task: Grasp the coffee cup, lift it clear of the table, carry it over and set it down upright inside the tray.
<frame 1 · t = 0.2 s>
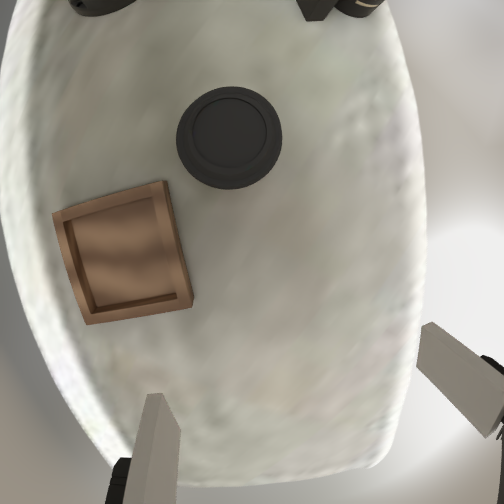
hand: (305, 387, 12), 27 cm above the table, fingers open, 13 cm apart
coffee cup: (225, 152, 35), on the table
tray: (124, 253, 36), on the table
light fixture: (334, 0, 31), on the table
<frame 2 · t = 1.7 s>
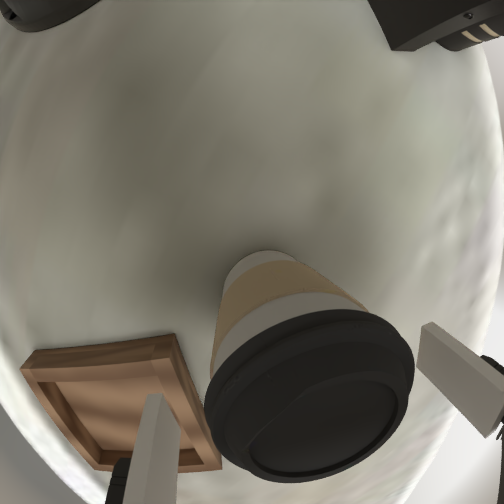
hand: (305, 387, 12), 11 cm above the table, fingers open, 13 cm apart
coffee cup: (265, 291, 23), on the table
tray: (127, 407, 24), on the table
light fixture: (421, 17, 18), on the table
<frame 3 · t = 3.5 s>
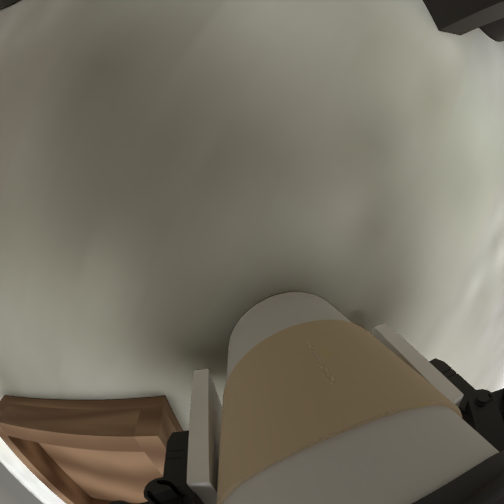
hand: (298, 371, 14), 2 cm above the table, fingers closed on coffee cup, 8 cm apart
coffee cup: (286, 345, 16), on the table, touching gripper
tray: (114, 464, 17), on the table
light fixture: (461, 0, 11), on the table
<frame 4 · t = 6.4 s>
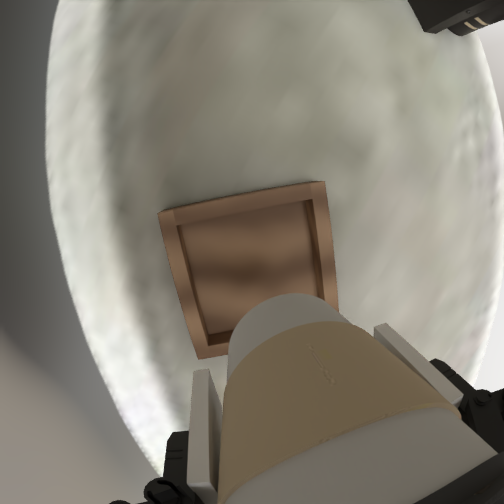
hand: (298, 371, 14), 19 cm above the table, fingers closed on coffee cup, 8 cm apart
coffee cup: (286, 346, 16), point 16 cm above the table, touching gripper
tray: (253, 267, 31), on the table
light fixture: (438, 14, 25), on the table
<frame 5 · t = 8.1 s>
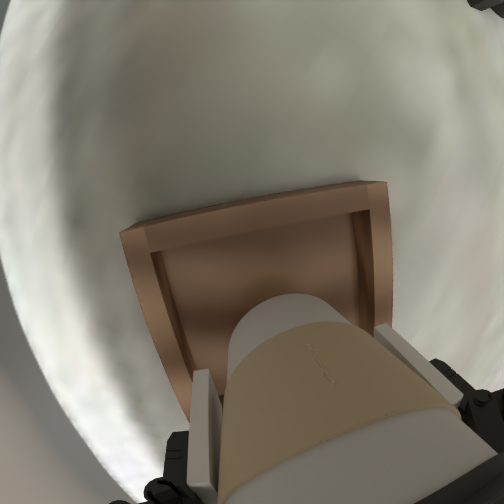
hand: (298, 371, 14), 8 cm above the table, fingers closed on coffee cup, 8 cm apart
coffee cup: (286, 346, 16), point 5 cm above the table, touching gripper
tray: (272, 308, 21), on the table
when the fingers open (5 cm above the table, at t = 9.6 s): coffee cup drops 1 cm, resting on tray.
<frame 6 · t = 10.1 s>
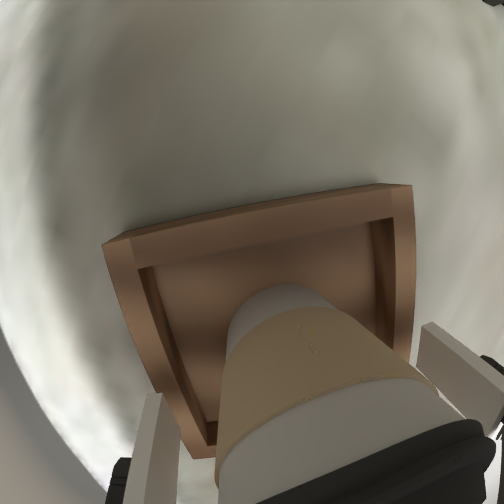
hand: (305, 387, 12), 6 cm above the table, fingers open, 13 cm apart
coffee cup: (281, 334, 17), point 1 cm above the table, touching tray
tray: (279, 327, 18), on the table
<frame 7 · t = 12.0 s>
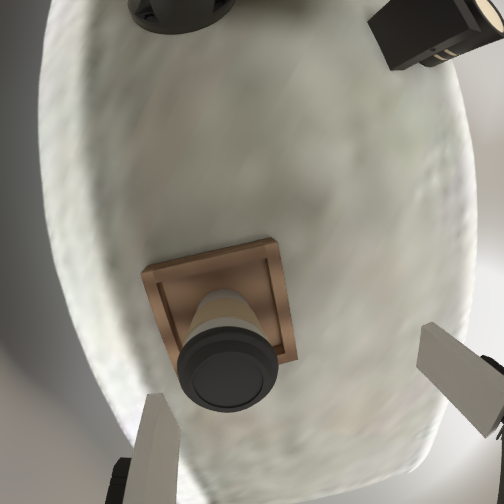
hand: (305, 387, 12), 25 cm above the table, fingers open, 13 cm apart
coffee cup: (223, 313, 36), point 1 cm above the table, touching tray
tray: (223, 310, 37), on the table
light fixture: (409, 46, 32), on the table
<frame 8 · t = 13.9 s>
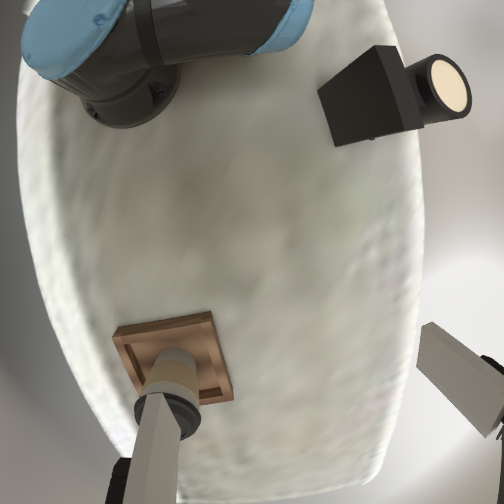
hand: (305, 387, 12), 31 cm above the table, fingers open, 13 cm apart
coffee cup: (176, 363, 44), point 1 cm above the table, touching tray
tray: (176, 360, 45), on the table
light fixture: (363, 112, 39), on the table
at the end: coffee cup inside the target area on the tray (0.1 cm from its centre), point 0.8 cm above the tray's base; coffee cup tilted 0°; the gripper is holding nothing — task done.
